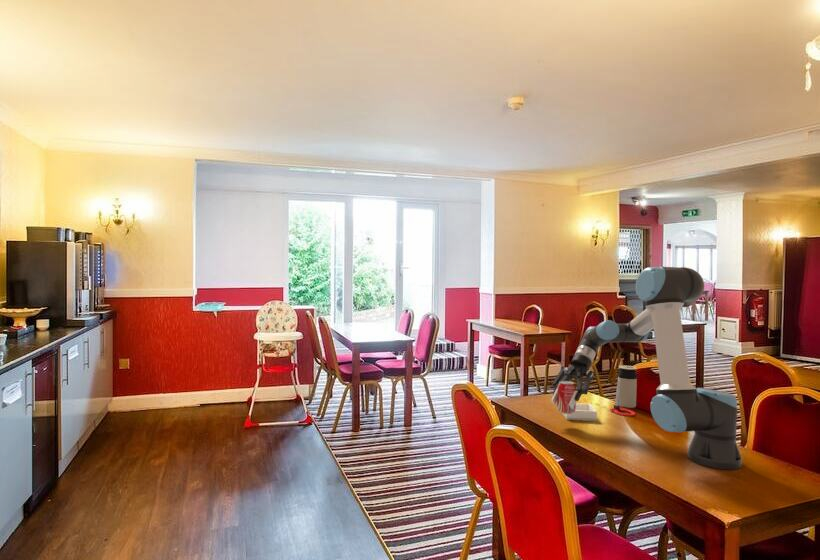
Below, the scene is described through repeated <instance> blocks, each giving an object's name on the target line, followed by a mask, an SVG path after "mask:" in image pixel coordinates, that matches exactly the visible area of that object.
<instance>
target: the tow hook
mask: <svg viewBox="0 0 820 560" xmlns="http://www.w3.org/2000/svg"><path fill="white" fill-rule="evenodd" d="M619 388H620V387H619V382H618V381H617V383H616V390H615V391H616V393H615V399H614V404H613V407H612V408H610V409H609V411H610V412H611V413H614V414H616V415H618V414H619V416H622V415H624V416H623V417H633V416H632V415H635V416H636V412H635V411H633V410H631V409H628V408H627V409H626V408H624V407H621V406H619ZM624 412H625V413H624ZM629 412H630V413H629Z"/></svg>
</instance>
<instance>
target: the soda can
mask: <svg viewBox="0 0 820 560" xmlns="http://www.w3.org/2000/svg"><path fill="white" fill-rule="evenodd" d="M575 391H577V388H576V385H575V382H574V381H571V380H569V381H560V382H559V385H558V389H557V402H556V408H557V411H558V412H559V413H560V414H562V415H563V414H572V413H574V412H575V408H576V403H577V402H576V403H575V405H574V407H573V409H572V408H571V407H570V406H569V402H570V400H571V398H572V396H573V394H574V392H575Z"/></svg>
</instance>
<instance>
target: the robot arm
mask: <svg viewBox="0 0 820 560" xmlns="http://www.w3.org/2000/svg"><path fill="white" fill-rule="evenodd" d="M704 291H705V281H704V279H703V277H702V275H701V274H700V273H699V272H698V271H696V270H695V269H693V268H690V267H685V266H684V267H683V266H681V267H677V266H676V267H675V266H648V267H646V268H644V269H643V270H642V271H640V273H639V274H638V277H636V281H635V293H636V296H637V297H638V299H639V300H641V301H642V302H644V303H645V308H646V309H644V310H643V311H641V312H640V313H639V314H638V315H637V316H635V317H634V318H633V319H632V320H630V321H629V322H628V323H617V322H616V321H613V320H611V319H609V320H608V319H607V320H604V321H602V322H600V323H598V325H596V326H589V327H587V329H586V330H585V332H584V333H583V336H582V338H581V340H580V343H579V345H578V347H577V349H576V351H575V353H574V355H573V357H572V359H571V362H570V365H568V367H565V366H563V365H562V366H561V367H560V370H559V373H558V374H557V375H556V377H555V378H554V380H553V382H552V383H551V385H552V387H553V388H554V389H553V391H552V398H551V399H550V401H551V403H552V404H553V405H555V406H556V405H557V389H558V385H559V382H560V381H571V380H573V379H577V382H576V383H577V388H576V391H575V392H574V394H573V396H572V398H571V400H570V402H569V406H570V407H571V408H572V409H573V407H574V405H575V403H577V402H579V400H580V398H581V397H582V395H586V396H587V394H588V393H589V388H590V386H591V382H592V379H593V378H594V377H595V374H594V372H593V371H592V370H590V369H591V366H592V363H593V361H594V359H595V357H596V354H597V353H598V350H599V349H600V348H601V347H602V346H604V345H605V344H608V343H639V342H640V343H641V342H646V341H647V340H648V337H649V334H650V332H651V331H652V330H653V336H654V342H655V343H654V344H655V351H656V358H657V364H658V365H657V367H658V372H659V383H660V384H659V385H658V386H657V388H656V395H655V396H653V397H652V399H651V401H650V412H651V416H652V418H653V419H654V421H655V423H656V424H657V425H658V426H659V428H661V429H663V431H665V432H669V433H684V432H694V434H693V437H692V439H691V441H690V444H689V446H688V449H687V457H688V459H690V460H691V461H692V462H694V463H696V464H699V465H701V466H705V467H708V468H709V467H710V468H714V469H718V470H719V469H720V470H737V469H738V470H739V469H740V468H741V467H742V465H743V464H742V456H741V453H740V451H739V447H738V444H737V424H738V410H739V409H738V408H739V407H738V400H737V397H736V396H735V395H733V394H731V393H729V392H725V391H720V390H717V389H712V388H705V387H695V385H693V384H692V383H691V379H690V372H689V366H688V365H689V364H688V359H687V351H686V346H685V338H684V337H685V336H684V332H683V331H684V330H683V325H682V323H683V322H682V317H681V316H682V315H681V309H683V308H689V307H691V306H692V305H693V304H695V303H696V302H698V300H699V299H700V298H701V297H702V296H703V293H704ZM584 377H585V378H584ZM584 379H585V380H584Z"/></svg>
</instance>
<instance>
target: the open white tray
mask: <svg viewBox="0 0 820 560" xmlns="http://www.w3.org/2000/svg"><path fill="white" fill-rule="evenodd" d="M562 416H564V418H565V419H566V420H567V421H581V420H582V421H583V422H585V421H586V422H598V421H597V419H598V411H597V409H595V408H594V407H593V405H592V404H591V403H579V402H578V403H577V402H576V408H575V412H574V413H572V414H563V413H562Z"/></svg>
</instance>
